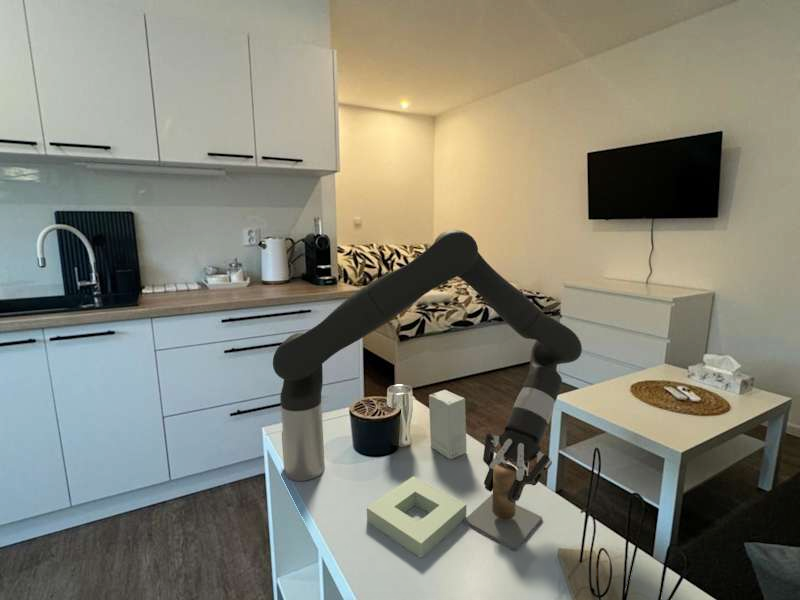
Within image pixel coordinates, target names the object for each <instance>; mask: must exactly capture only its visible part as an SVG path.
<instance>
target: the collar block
mask: <svg viewBox="0 0 800 600" xmlns="http://www.w3.org/2000/svg"><path fill="white" fill-rule="evenodd" d="M415 505H416V506H417V507H419V508H421V509H422V510H424V511H426V512H428V513H427V515H425V516H424V517H422V519H420V520H419V521H418V520H416V519H415V518H413V517H411V516H410V515H408V514H407V513H406V512H407V511H409V510H410V509H412V507H414V506H415ZM466 518H467V503H465V502H464V501H462V500H460V499H458V498H455V497H454V496H452V495H451V494H449V493H446V492H444V491H442V490H441V489H438V488H437V487H435V486H433V485H431V484H429V483H427V482H426V481H423V480H421V479H420V478H418V477H415V475H413V476H412V477H410V478H409V479H407V480H405V481H403V483H401V484H400V485H398V486H396V487H395V488H394V489H392V490H391V491H390V492H388V493H386V494H385V495H384V496H382V497H380V498H379V499H378V500H376V501H375V502H373V503H371V504H370V505H369V506H367V507H366V520H367V521H366V522H368V523H369V524H371V525H372V526H374V527H375V528H377V530H379V531H381V532H382V533H384V534H385V535H386V536H388V537H390V538H391V539H392V540H393V541H395V542H396V543H398V544H400V545H401V546H402V547H404V548H406V549H407V550H408V551H410V552H411V553H412V554H415V556H417V557H418V558H419V559H423V558H424V557H425V555H427V554H428V553H429V552H430V551H431V550H432V549H434V547H436V545H438V544H439V543H440V542H441V541H442V540H443V539H445V538H446V537H447V536H448V535H449V534H450V533H451V532H452V531H453V530H455V528H456V527H458V526H459V525H460V524H461V523H462V522H464V520H465V519H466Z"/></svg>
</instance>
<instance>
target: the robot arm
mask: <svg viewBox="0 0 800 600" xmlns="http://www.w3.org/2000/svg"><path fill="white" fill-rule="evenodd" d="M455 278H459V279H460V280H462V281H463V282H464V283H466V284H467V285H468V286H470V287H471V289H473V290H474V291H475V292H476V294H478V295H479V296H480V297H481V298H482V299H483V300H484V301H485V302H486V303H487V304H488V305H489V307H490V308H491V309H492V310H493V311H494V312H495V314H497V315H498V316H499V317H500V318H501V319H502V320H503V321H504V322H505V323H506V324H507V325H508V326H509V327H511V329H512V330H513V331H515V333H517V334H518V335H519V336H521V338H523V339H527V340H535V342H534V344H533V346H532V348H531V353H530V360H529V372H528V374H527V376H526V379H525V381H524V384H523V385H522V389H520V390H521V391H520V392H519V394H518V396H517V398H516V399H515V403H514V404H513V407H512V409H511V411H510V413H509V416H508V419H507V422H506V424H505V427H504V430H503V431H502V433H501V434H499V435H492V434H491V433H487V434H485V443H484V448H483V450H484V451H483V456H482V457H483V458H482V462H484V464H485V465H487V466H488V472H487V473H486V476H485V479H484V481H483V485H484V489H485V490H486V491H488V492H490V493H491V492H493V468H494V466H495V465H497V464H500V463H505V464H509V463H508V462H515V463H516V470H517V480H515V481H514V483H513V485H512V488H511V490H510V493H509V496H508V500H509V501H511V502H513V503H515V501H516V502H518V501H519V500H520V498H521V496H522V493H523V490H524V487H525V486H526V485H531V486H536V485H537V484H538V483H539V481H540V480H541V479H542V478H543V476H544V475H545V473H546V472H547V471H548V469H549V468H550V467H551V466H552V463H553V461H552V460H551V458H550V457H549V455H547V454H544V453H542V451H541V446H542V445H541V444H542V443H543V439H544V437H545V436H546V432H547V429H548V426H549V424H550V422H551V420H552V415H553V412H554V410H555V409H554V407H555V404H556V401H557V398H558V396H559V393H560V390H561V388H562V383H563V378H562V376H561V375H560V374H559V373H558V371H556V368H557V365H561V364H562V365H563V364H569V363H573V362H575V361H576V360H578V359H579V358H580V357H581V354H582V351H583V347H582V343H581V339H580V338H579V337H578V336H577V334H576V333H575V332H574V331H573V330H572V329H570V328H569V327H567V326H566V325H565V324H563V323H561V322H559V321H558V320H556V319H555V318H553V317H551V316H550V315H547V314H545V313H544V312H543V311H542V310H541V309H540V308H539V307H538V306H536V304H534V303H533V301H531V300H530V299H529V298H528V297H527V296H525V294H523V292H521V290H519V289H518V288H516V287H515V286H514V285H513V284H511V283H510V282H509V281H508V280H507V279H506V278H504V277H503V276H501V274H499V273H498V272H497V271H496V270H495V269H494V268H493V267H492V266H491V265H490V264H489V263H488V262H487V261H486V260H485V259H484V257H483V256H482V255H481V254H480V252H479V247H478V244H477V242H476V240H475V239H474V237H473V236H472V235H470V234H469V233H468V232H466V231H463V230H460V229H448V230H446V231H443V232H442V233H440V234H439V235H438V236H437V237H435V240H434V242H433V244H432V245H430V246H429V247H428V248H427V249H426V250H424V251H423V252H422V253H420V254H419V255H418V256H417V257H416V258H414V259H412V261H410V262H408V263H407V264H405V265H403V266H401V267H399V268H397V269H395V270H392V271H391V272H388V273H387V274H384V275H382V276H380V277H379V278H376V279H374V280H373V281H372V282H370V283H368V284H367V285H365V286H364V287H362V288H361V289H359V290H358V291H356V292H354V293H353V294H352V295H351V296H350V297H348V298H347V299H345V300H344V301H343V302H342V303H341V304H340V305H339V306H338V307H336V308H335V309H334V310H333V311H332V312H331V313H329V315H327V317H326V318H324V319H323V320H322V321H321V322H320V323H318V324H317V325H315V326H314V327H312V328H311V329H309V330H307V331H306V332H297V333H294V334H292V335H289V337H287V338H286V339H285V340H284V341H283V342H282V343H281V344H280V345H279V346H278V347H277V348H276V350H275V352H274V355H273V359H272V367H273V371H274V372H275V374H276V375H277V376H278V377H279V378H280V379H282V380H283V384H282V388H281V391H280V398H279V399H280V411H281V422H282V423H281V424H282V425H281V426H282V431H281V443H282V444H281V445H282V457H283V458H282V459H283V461H282V462H283V469H284V471H285V475H286V477H287V478H288V479H290V480H292V481H296V482H307V481H310V480H313V479H315V478H318V477H319V476H321V474H322V473H324V471H325V468H326V467H325V445H324V441H325V440H324V428H323V427H324V424H323V422H324V420H323V407H322V404H323V403H322V391H323V383H324V382H323V381H324V380H323V379H324V378H323V373H324V372H323V364H324V363H325V362H326V361H328V360H329V359H330V358H331V357H333V356H334V355H335V354H337V353H338V352H340V351H341V350H343V349H345V348H347V347H349V346H351V345H352V344H354V343H356V342H358V341H359V340H361V339H362V338H364V337H367V336H368V335H370V334H371V333H373V332H374V331H376V330H378V329H379V328H381V327H383V326H384V325H385V324H387V323H388V322H390V321H392V320H393V319H395V318H396V317H397V316H399V315H400V314H401V313H403V312H404V311H405V310H407V309H408V308H410V307H411V306H412V305H413V304H415V303H416V302H417V301H419V300H420V299H421V298H422V297H423V296H425V295H426V294H427V293H429V292H431V291H433V290H434V289H436V288H438V287H439V286H441V285H443V284H445V283H447V282H450V281H451V280H453V279H455ZM498 444H499V446H500V449H499V450H498V452H497V453H496V454H495V450H496V449H495V448H496V447H497V446H498ZM536 458H537V459H536ZM535 459H536V464H535V465H534V467H532V469H531V471H530V472H529V468H530V467H529V466H530V462H532V461H533V460H535Z"/></svg>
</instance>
